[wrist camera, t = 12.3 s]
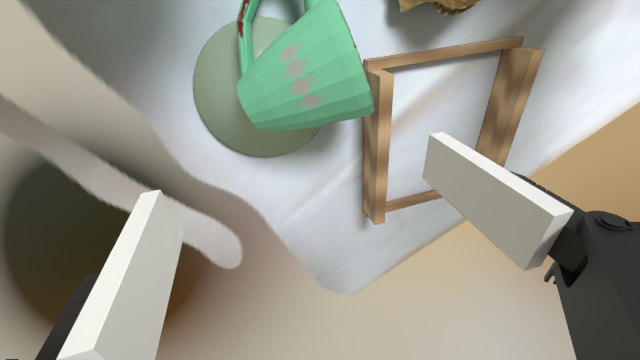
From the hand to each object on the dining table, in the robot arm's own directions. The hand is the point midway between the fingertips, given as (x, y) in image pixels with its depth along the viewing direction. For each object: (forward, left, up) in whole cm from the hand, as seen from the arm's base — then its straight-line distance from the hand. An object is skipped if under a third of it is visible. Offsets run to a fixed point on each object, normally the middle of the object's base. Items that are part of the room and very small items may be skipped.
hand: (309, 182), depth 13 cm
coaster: (0, 0, -18) cm, 18 cm away
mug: (-2, -3, -15) cm, 16 cm away
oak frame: (+9, +21, -18) cm, 29 cm away
